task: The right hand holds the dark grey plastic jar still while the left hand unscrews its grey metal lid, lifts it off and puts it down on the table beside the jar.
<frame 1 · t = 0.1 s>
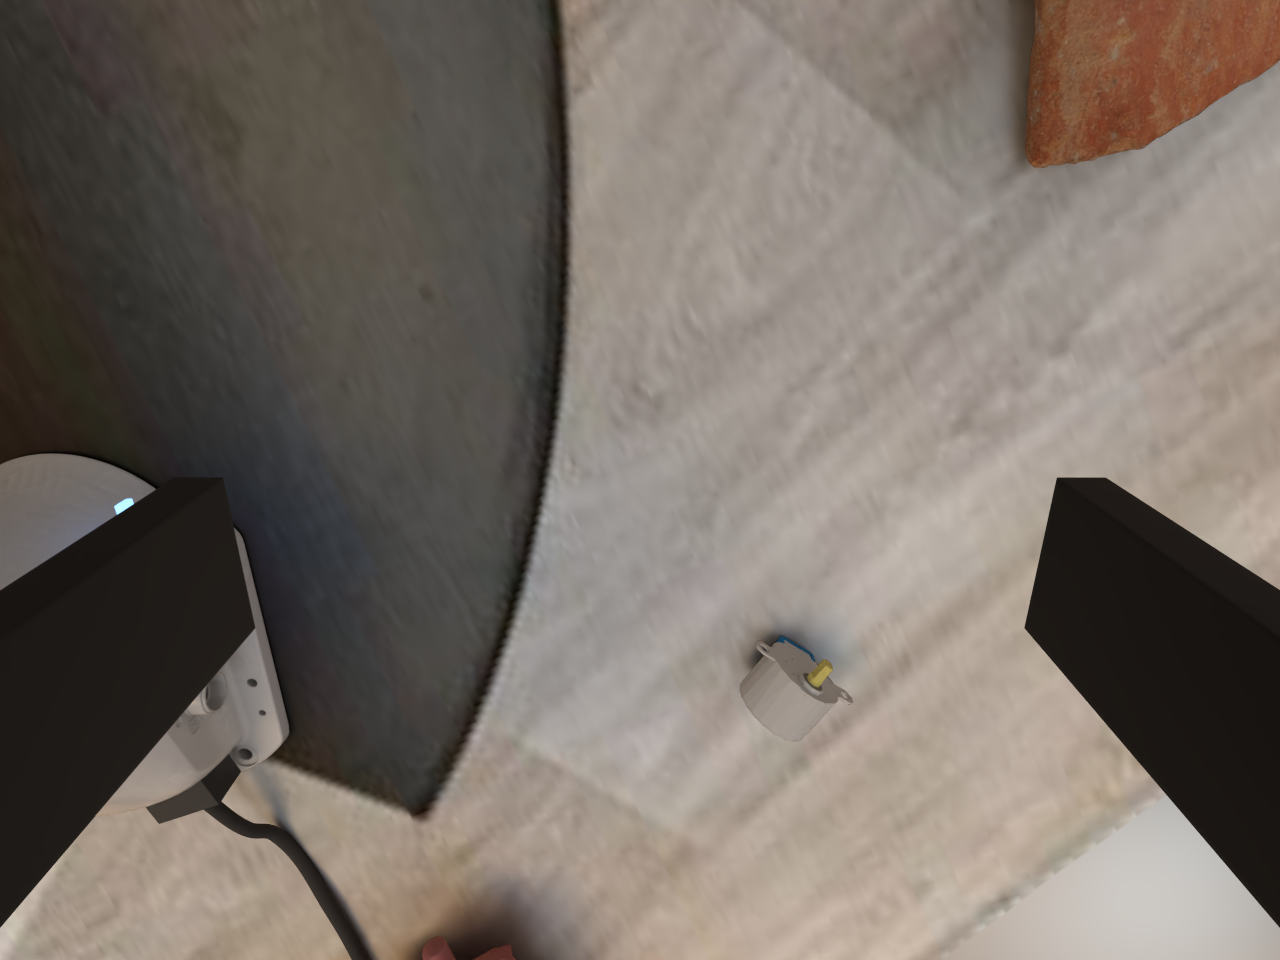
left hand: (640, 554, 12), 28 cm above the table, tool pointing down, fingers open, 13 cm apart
electric motor: (787, 651, 46), on the table
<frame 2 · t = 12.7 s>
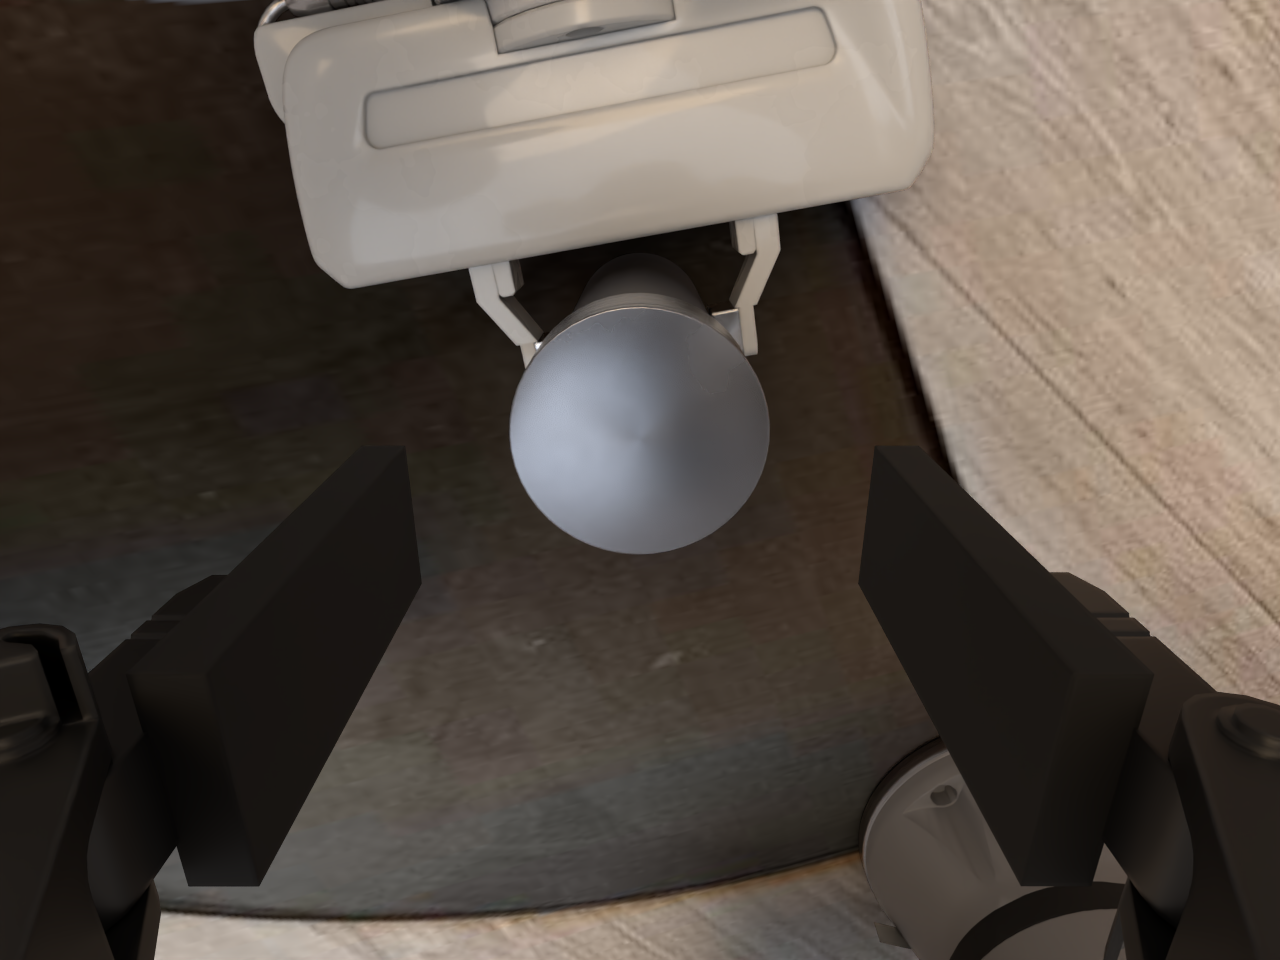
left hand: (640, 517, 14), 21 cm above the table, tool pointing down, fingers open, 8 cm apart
right hand: (645, 369, 28), fingers closed on jar, 5 cm apart
jar: (640, 316, 33), on the table, touching right hand
lid: (639, 433, 18), point 16 cm above the table, screwed on, not yet turned
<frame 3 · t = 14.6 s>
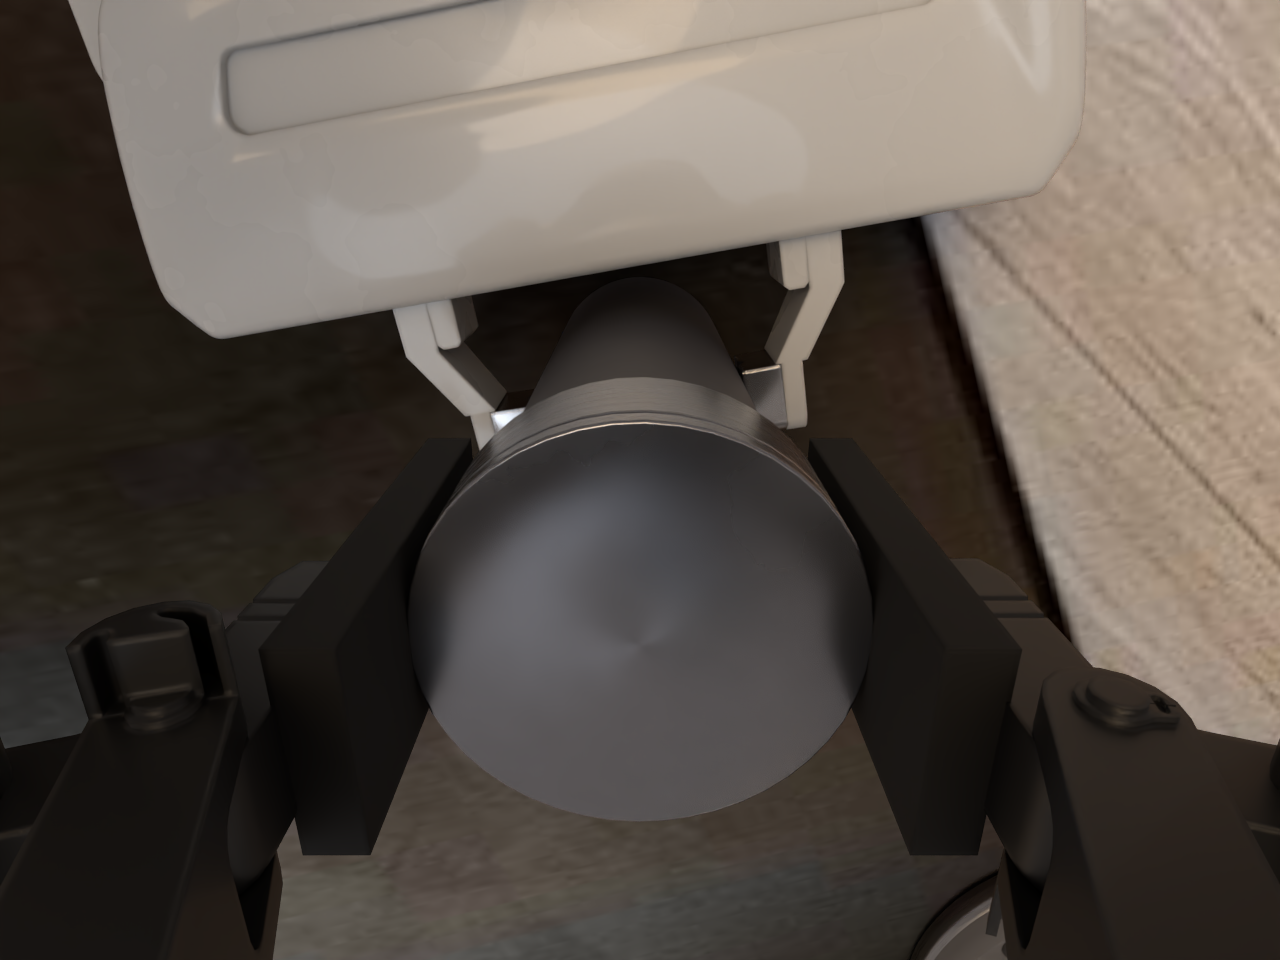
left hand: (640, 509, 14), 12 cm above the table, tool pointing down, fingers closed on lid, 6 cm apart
jar: (640, 358, 25), on the table, touching right hand
lid: (640, 629, 10), point 16 cm above the table, screwed on, not yet turned, touching left hand
when the left hand's fingers open (13 cm above the table, at t = 16.1 s): lid stays where it is, point 17 cm above the table.
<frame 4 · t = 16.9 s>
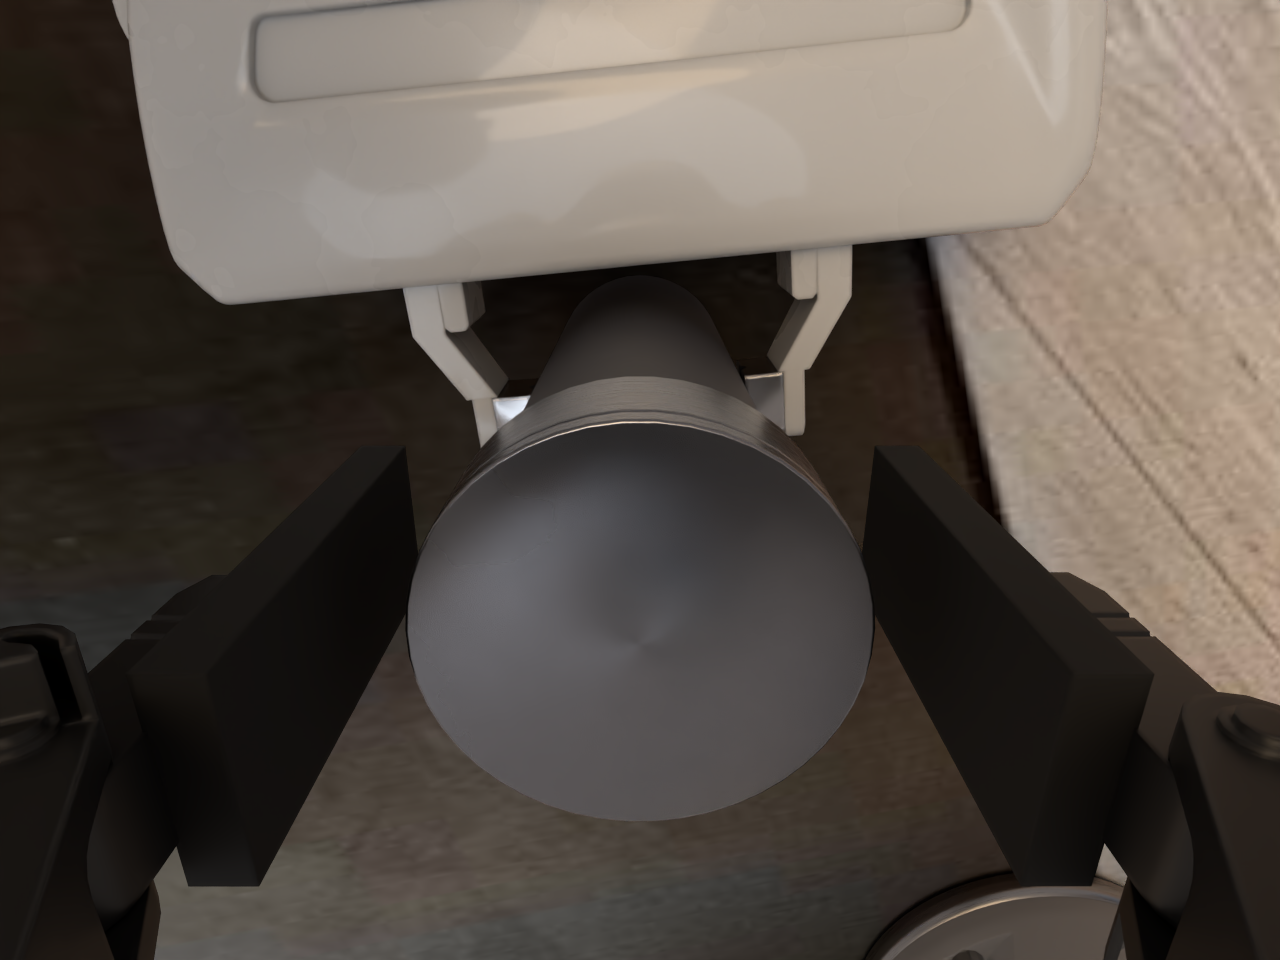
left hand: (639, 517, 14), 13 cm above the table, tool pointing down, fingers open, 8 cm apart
jar: (640, 356, 26), on the table, touching right hand
lid: (640, 629, 10), point 17 cm above the table, turned 92° so far, risen 0.2 cm, still on its thread
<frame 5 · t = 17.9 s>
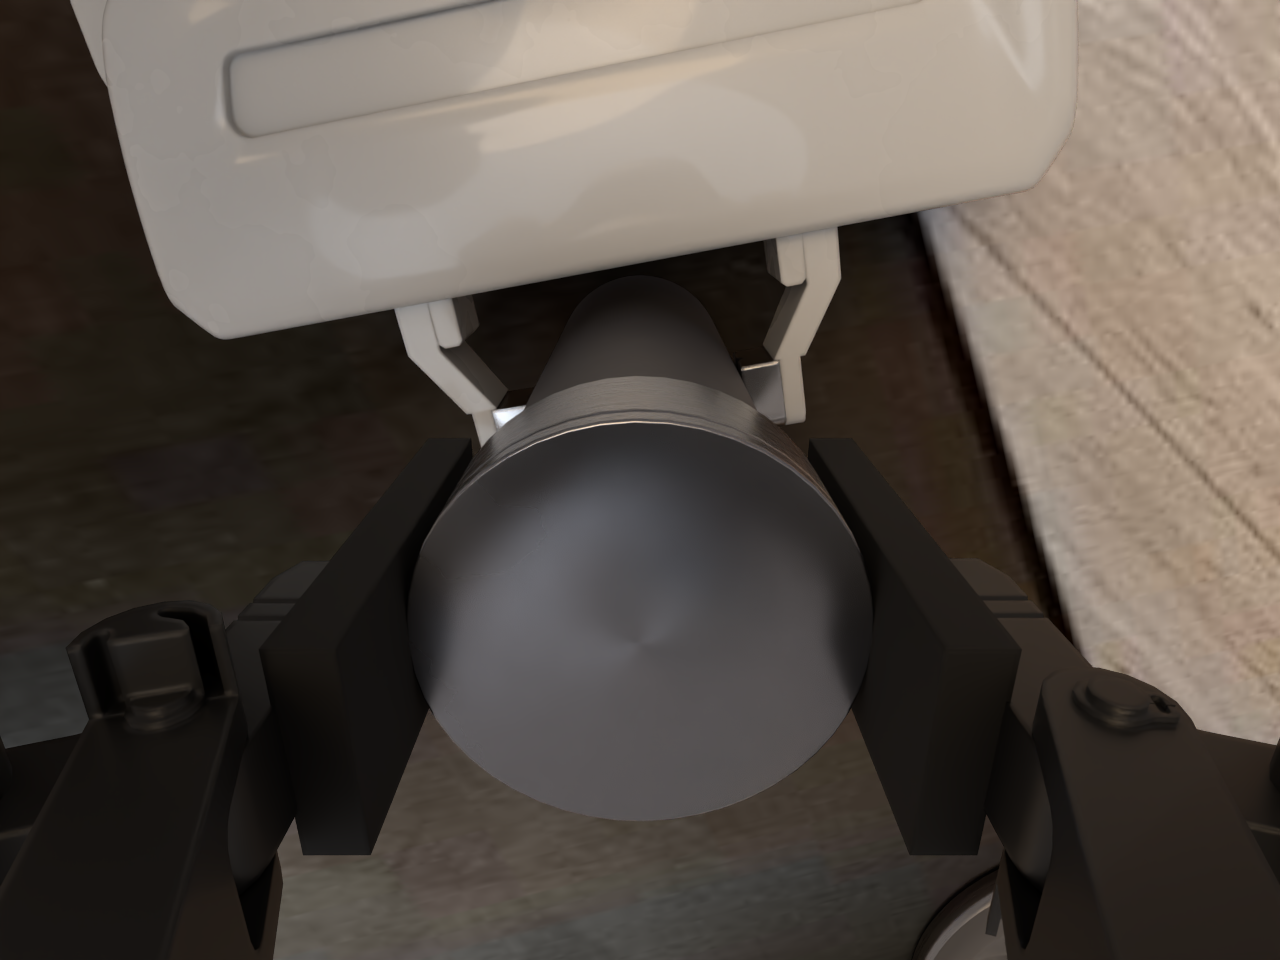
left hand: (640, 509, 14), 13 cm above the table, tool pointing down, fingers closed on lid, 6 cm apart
jar: (640, 356, 26), on the table, touching right hand
lid: (640, 628, 10), point 17 cm above the table, turned 92° so far, risen 0.2 cm, still on its thread, touching left hand
when the left hand's fingers open (0 cm above the table, at t = 24.9 s): lid stays where it is, point 2 cm above the table.
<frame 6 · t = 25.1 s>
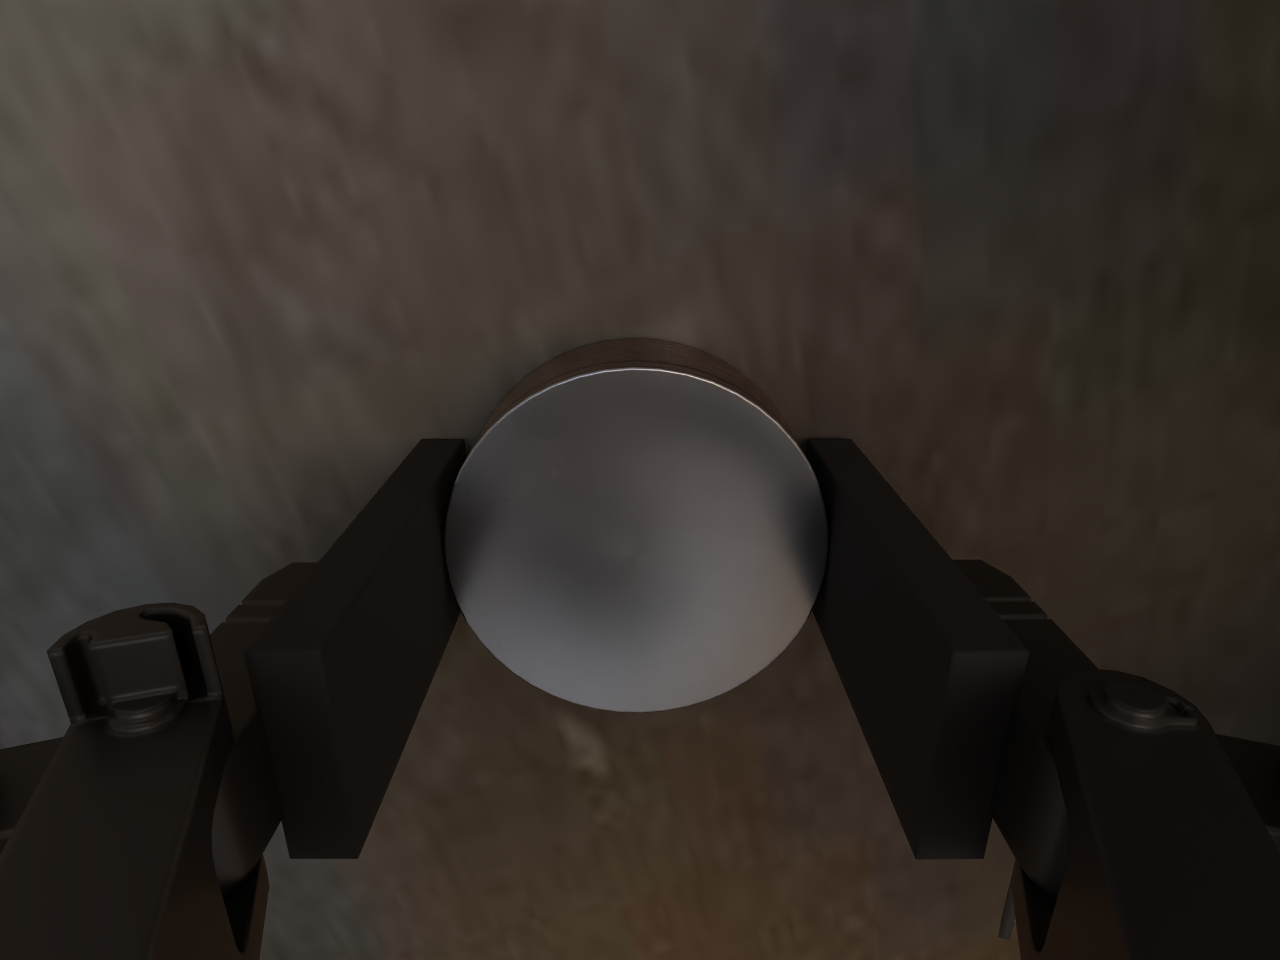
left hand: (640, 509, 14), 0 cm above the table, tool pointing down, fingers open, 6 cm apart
lid: (636, 546, 12), point 2 cm above the table, off its thread
when the right hand's fingers open (6 cm above the table, at t = 25.9 s): jar stays where it is, on the table.
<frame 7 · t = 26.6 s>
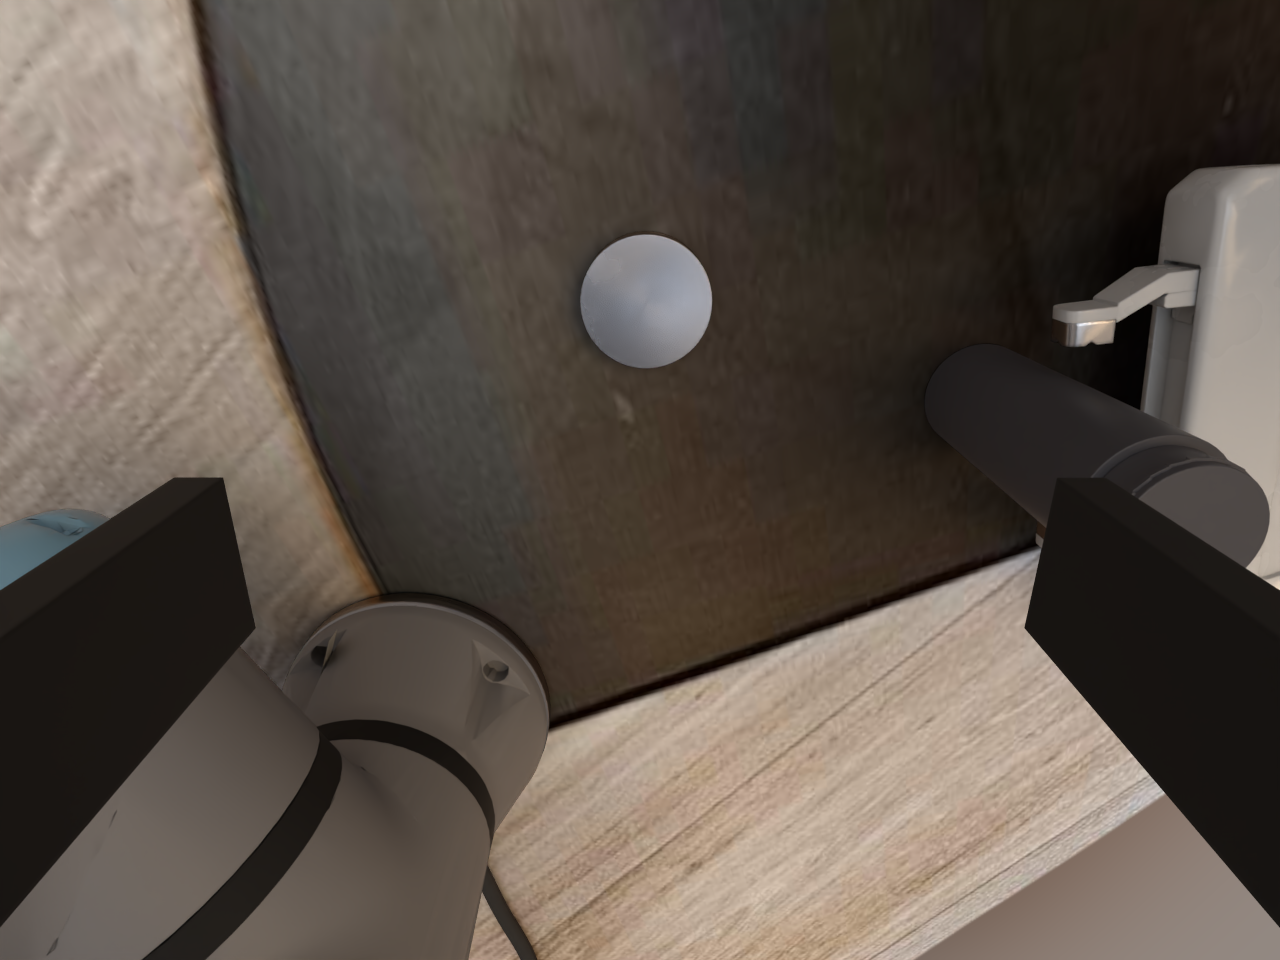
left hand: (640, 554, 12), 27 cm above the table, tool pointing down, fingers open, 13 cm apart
jar: (977, 395, 39), on the table
lid: (646, 302, 35), point 2 cm above the table, off its thread
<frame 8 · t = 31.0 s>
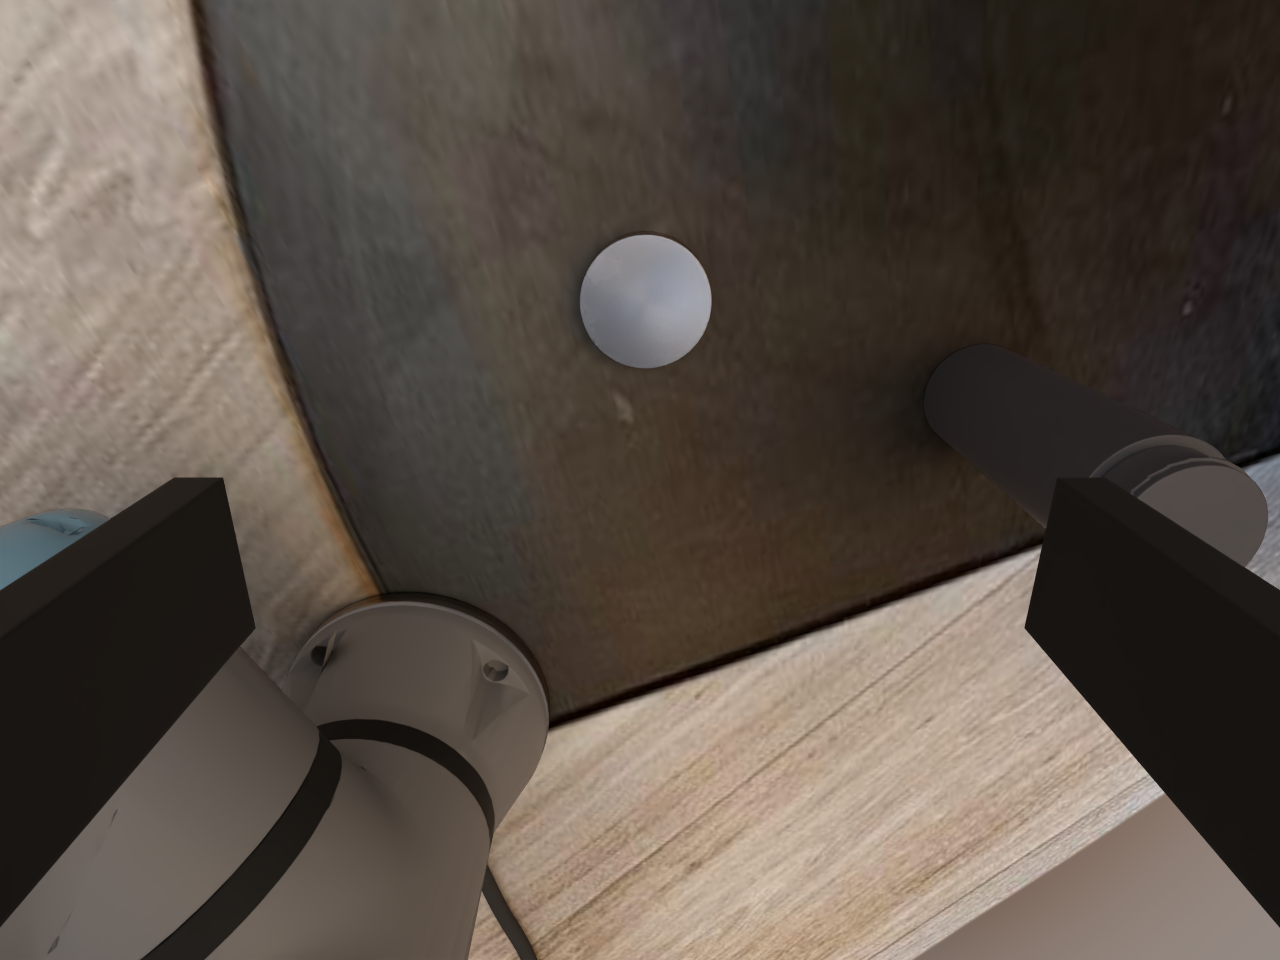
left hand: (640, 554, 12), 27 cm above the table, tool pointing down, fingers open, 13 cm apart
jar: (976, 395, 39), on the table
lid: (645, 302, 35), point 2 cm above the table, off its thread
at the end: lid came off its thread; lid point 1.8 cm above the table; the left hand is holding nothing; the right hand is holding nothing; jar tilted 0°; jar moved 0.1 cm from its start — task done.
